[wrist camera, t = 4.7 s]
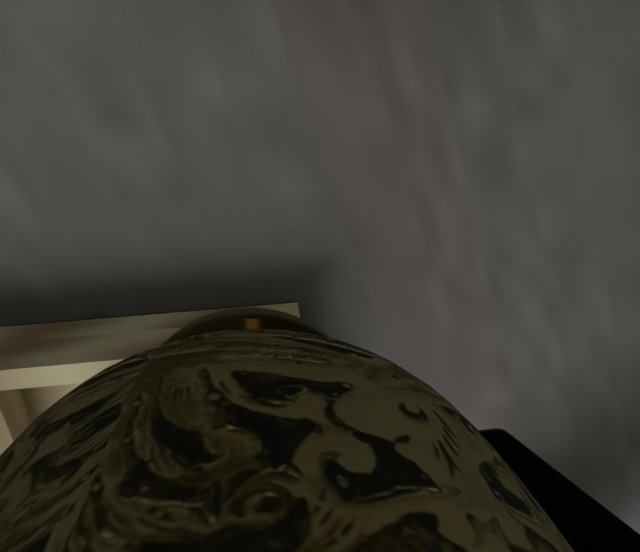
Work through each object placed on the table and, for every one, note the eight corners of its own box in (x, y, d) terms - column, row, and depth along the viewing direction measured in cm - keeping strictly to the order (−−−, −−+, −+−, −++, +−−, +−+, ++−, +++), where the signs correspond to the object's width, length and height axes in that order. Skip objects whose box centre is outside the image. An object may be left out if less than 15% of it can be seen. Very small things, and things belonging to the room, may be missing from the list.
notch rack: (297, 302, 20) (304, 342, 18) (305, 500, 26) (312, 549, 24) (-330, 354, 18) (-406, 407, 16) (-177, 558, 24) (-218, 618, 22)
